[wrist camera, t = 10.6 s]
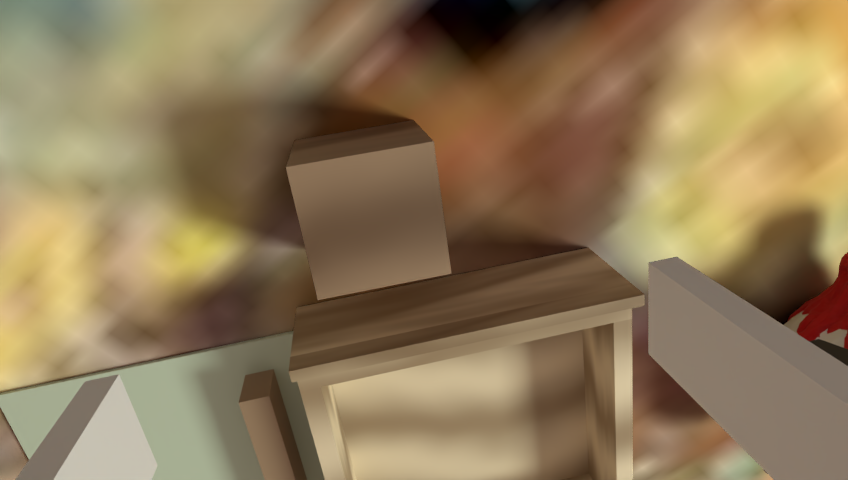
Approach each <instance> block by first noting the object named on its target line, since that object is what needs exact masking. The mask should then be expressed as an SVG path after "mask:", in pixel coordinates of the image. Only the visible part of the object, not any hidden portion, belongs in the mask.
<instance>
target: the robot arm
mask: <svg viewBox="0 0 848 480" xmlns="http://www.w3.org/2000/svg"><path fill="white" fill-rule="evenodd" d="M648 354H649V355H650V356H651V357H652V358H653V359H654V360H655V361H656V362H657V363H658V364H659V365H660V366H661V367H662V368H663V369H664V370H665V371H666V372H667V373H668V374H669V375H670V376H671V377H672V378H673V379H674V380H675V381H676V382H677V383H678V384H679V385H680V386H681V387H682V388H683V389H684V390H685V391H686V392H687V393H688V394H689V395H690V396H691V397H692V398H693V399H694V400H695V401H696V402H697V403H698V404H699V405H700V406H701V407H702V408H703V409H704V410H705V411H706V412H707V413H708V414H709V415H710V416H711V417H712V418H713V419H714V420H715V421H716V422H717V423H718V424H719V425H720V426H721V427H722V428H723V429H724V430H725V431H726V432H727V433H728V434H729V435H730V436H731V437H732V438H733V439H734V440H735V441H736V442H737V443H738V444H739V445H740V446H741V447H742V448H743V449H744V450H745V451H746V452H747V453H748V454H749V455H750V456H751V457H752V458H753V459H754V460H755V461H756V462H757V463H758V464H759V465H760V466H761V467H762V468H763V469H764V470H765V471H766V472H767V473H768V474H769V475H770V476H771V477H772V478H773V479H774V480H848V349H846V348H843V347H840V346H837V345H835V344H832V343H829V342H826V341H824V340H821V339H817V340H812V341H808V340H806V339H805V338H803V337H801V336H800V335H798V334H797V333H795V332H794V331H792V330H790V329H789V328H787V327H786V326H784V325H783V324H781V323H780V322H778V321H776V320H775V319H773V318H772V317H770V316H769V315H767V314H765V313H764V312H762V311H761V310H759V309H758V308H756V307H754V306H753V305H751V304H750V303H748V302H747V301H745V300H744V299H742V298H740V297H739V296H737V295H736V294H734V293H733V292H731V291H729V290H728V289H726V288H725V287H723V286H722V285H720V284H719V283H717V282H715V281H714V280H712V279H711V278H709V277H708V276H706V275H704V274H703V273H701V272H700V271H698V270H697V269H695V268H693V267H692V266H690V265H689V264H687V263H686V262H684V261H683V260H681V259H679V258H678V257H673V258H668V259H664V260H659V261H654V262H649V297H648ZM156 468H157V463H156V460H155V458H154V456H153V453H152V451H151V449H150V446H149V444H148V441H147V439H146V437H145V434H144V432H143V430H142V427H141V425H140V423H139V420H138V418H137V415H136V413H135V411H134V408H133V406H132V404H131V401H130V399H129V397H128V394H127V392H126V389H125V387H124V385H123V382H122V380H121V378H120V375H119V374H118V375H113V376H108V377H103V378H99V379H94V380H89V381H85V382H84V383H83V385H82V386H81V388H80V389H79V390H78V392H77V393H76V395H75V396H74V397H73V399H72V400H71V402H70V403H69V405H68V406H67V407H66V409H65V410H64V412H63V413H62V414H61V416H60V417H59V419H58V420H57V421H56V423H55V424H54V426H53V427H52V429H51V430H50V431H49V433H48V434H47V436H46V437H45V438H44V440H43V441H42V443H41V444H40V445H39V447H38V448H37V450H36V451H35V453H34V454H33V455H32V457H31V458H30V460H29V461H28V462H27V464H26V465H25V467H24V468H23V469H22V471H21V472H20V474H19V475H18V477H17V478H16V479H15V480H152V478H153V475H154V473H155V470H156Z"/></svg>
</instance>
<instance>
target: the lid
mask: <svg viewBox="0 0 848 480" xmlns="http://www.w3.org/2000/svg"><path fill="white" fill-rule="evenodd" d="M292 339H293V331H290V332H285V333H281V334H276V335H271V336H266V337H262V338H257V339H252V340H248V341H243V342H238V343H233V344H229V345H224V346H219V347H215V348H210V349H205V350H200V351H196V352H191V353H186V354H182V355H177V356H172V357H167V358H163V359H158V360H153V361H149V362H144V363H139V364H134V365H130V366H125V367H120V368H116V369H111V370H106V371H101V372H97V373H92V374H87V375H82V376H78V377H73V378H68V379H64V380H59V381H54V382H49V383H45V384H40V385H35V386H31V387H26V388H21V389H16V390H12V391H7V392H2V393H0V408H1V409H2V411H3V413H4V415H5V417H6V419H7V420H8V422H9V424H10V426H11V428H12V430H13V431H14V433H15V435H16V437H17V439H18V441H19V442H20V444H21V446H22V448H23V450H24V452H25V453H26V455H27V457H28V459H29V460H30V458H31V457H32V455H33V454H34V453H35V451H36V450H37V448H38V447H39V445H40V444H41V443H42V441H43V440H44V438H45V437H46V436H47V434H48V433H49V431H50V430H51V429H52V427H53V426H54V424H55V423H56V421H57V420H58V419H59V417H60V416H61V414H62V413H63V412H64V410H65V409H66V407H67V406H68V405H69V403H70V402H71V400H72V399H73V397H74V396H75V395H76V393H77V392H78V390H79V389H80V388H81V386H82V385H83V383H84V382H85V381H89V380H94V379H99V378H103V377H108V376H113V375H118V374H119V375H120V378H121V380H122V382H123V385H124V387H125V389H126V392H127V394H128V397H129V399H130V401H131V404H132V406H133V408H134V411H135V413H136V415H137V418H138V420H139V423H140V425H141V427H142V430H143V432H144V434H145V437H146V439H147V441H148V444H149V446H150V449H151V451H152V453H153V456H154V458H155V460H156V463H157V468H156V470H155V473H154V475H153V478H152V480H325V478H324V475H323V471H322V468H321V464H320V461H319V457H318V453H317V450H316V446H315V443H314V439H313V436H312V432H311V429H310V425H309V422H308V418H307V415H306V411H305V407H304V404H303V400H302V397H301V393H300V390H299V386H298V383H297V382H291V379H290V375H289V363H290V355H291V347H292Z"/></svg>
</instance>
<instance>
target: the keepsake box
mask: <svg viewBox="0 0 848 480" xmlns="http://www.w3.org/2000/svg"><path fill="white" fill-rule="evenodd" d="M641 306H645V295H644V294H643V293H642V292H641V291H640V290H638V289H637V288H636V287H635V286H634V285H632V284H631V283H630V282H629V281H628V280H626V279H625V278H624V277H623V276H622V275H620V274H619V273H618V272H617V271H616V270H614V269H613V268H612V267H611V266H610V265H608V264H607V263H606V262H605V261H604V260H602V259H601V258H600V257H599V256H598V255H596V254H595V253H594V252H593V251H592V250H590V249H589V248H584V249H579V250H574V251H569V252H564V253H560V254H555V255H550V256H545V257H540V258H535V259H530V260H526V261H521V262H516V263H511V264H506V265H501V266H496V267H491V268H487V269H482V270H477V271H472V272H467V273H462V274H457V275H452V276H448V277H443V278H438V279H433V280H428V281H423V282H418V283H414V284H409V285H404V286H399V287H394V288H389V289H384V290H379V291H375V292H370V293H365V294H360V295H355V296H350V297H345V298H340V299H336V300H331V301H326V302H321V303H316V304H311V305H306V306H301V307H297V308H296V314H295V322H294V331H293V339H292V347H291V355H290V363H289V375H290V379H291V382H297V383H298V386H299V390H300V393H301V397H302V400H303V404H304V407H305V411H306V415H307V418H308V422H309V425H310V429H311V432H312V436H313V439H314V443H315V446H316V450H317V453H318V457H319V461H320V464H321V468H322V471H323V475H324V478H325V480H633V403H632V308H636V307H641Z"/></svg>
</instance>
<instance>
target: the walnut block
mask: <svg viewBox="0 0 848 480" xmlns="http://www.w3.org/2000/svg"><path fill="white" fill-rule="evenodd" d="M286 170H287V174H288V179H289V183H290V187H291V191H292V195H293V199H294V203H295V208H296V212H297V216H298V220H299V224H300V228H301V233H302V237H303V241H304V245H305V249H306V253H307V257H308V262H309V266H310V270H311V274H312V278H313V282H314V286H315V291H316V295H317V299H318V300H321V299H326V298H331V297H336V296H341V295H346V294H351V293H356V292H362V291H367V290H372V289H377V288H382V287H387V286H392V285H397V284H402V283H407V282H412V281H417V280H422V279H427V278H432V277H437V276H442V275H447V274H452V273H451V266H450V258H449V251H448V244H447V236H446V229H445V222H444V214H443V207H442V200H441V192H440V185H439V177H438V170H437V163H436V155H435V148H434V141H433V140H432V139H431V138H430V137H429V136H428V135H427V134H426V133H425V132H424V131H423V130H422V129H421V128H420V127H419V125H418V124H417V123H416V122H415V121H414V120H411V121H405V122H399V123H393V124H387V125H381V126H376V127H370V128H364V129H358V130H352V131H346V132H340V133H334V134H329V135H323V136H317V137H311V138H305V139H299V140H295V141H294V144H293V147H292V150H291V153H290V156H289V159H288V162H287V165H286Z"/></svg>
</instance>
